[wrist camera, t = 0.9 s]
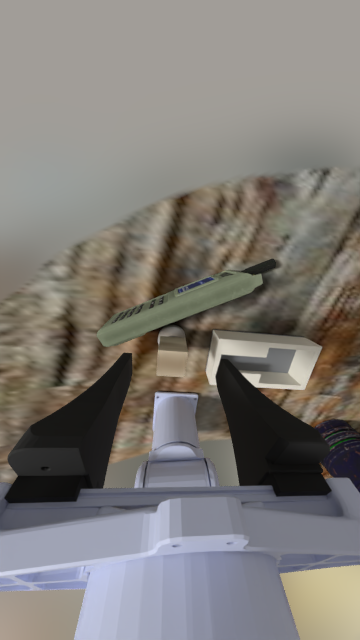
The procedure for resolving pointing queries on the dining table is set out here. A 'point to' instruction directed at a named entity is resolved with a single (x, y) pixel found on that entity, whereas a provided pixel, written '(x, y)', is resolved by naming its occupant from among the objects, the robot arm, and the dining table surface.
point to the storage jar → (342, 450)
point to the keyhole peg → (172, 352)
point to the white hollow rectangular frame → (264, 358)
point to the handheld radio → (182, 303)
